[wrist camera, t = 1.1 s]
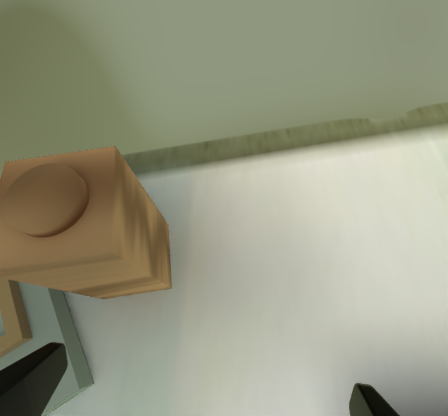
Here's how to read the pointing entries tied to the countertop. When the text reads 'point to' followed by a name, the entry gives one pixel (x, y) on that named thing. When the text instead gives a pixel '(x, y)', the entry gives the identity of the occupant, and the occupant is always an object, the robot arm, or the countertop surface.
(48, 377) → the robot arm
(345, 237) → the countertop surface
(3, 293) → the base slab
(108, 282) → the terracotta block
